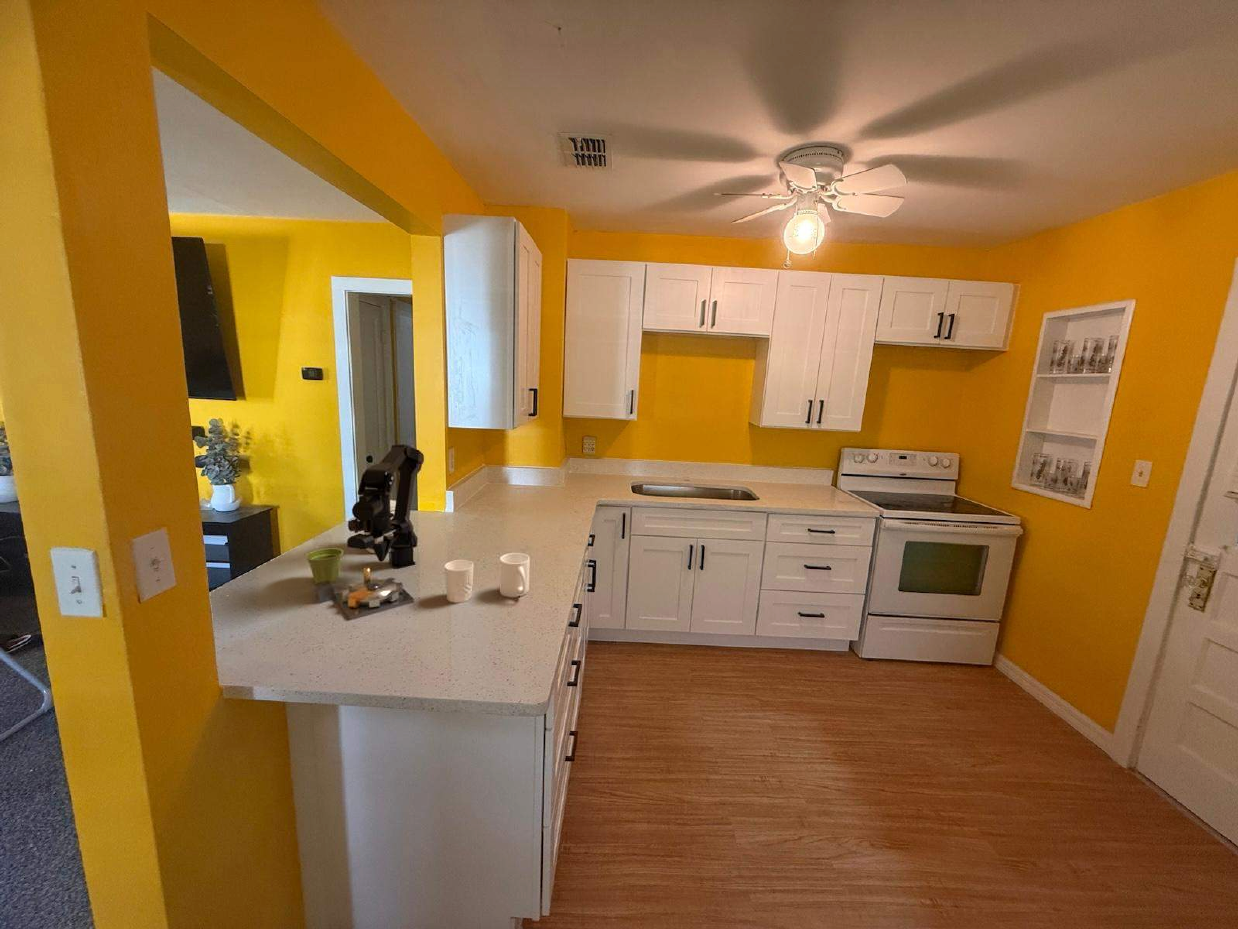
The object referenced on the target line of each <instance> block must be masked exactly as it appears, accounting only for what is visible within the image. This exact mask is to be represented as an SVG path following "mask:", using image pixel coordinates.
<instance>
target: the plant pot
mask: <svg viewBox="0 0 1238 929" xmlns="http://www.w3.org/2000/svg"><path fill="white" fill-rule="evenodd" d="M343 554H344V550H343V549H340V548H336V547H332V548H331V547H329V548H321V549H316V550H314V551H313V550H312V551H311V552H309V553H307V554H306V556H305V559H306V560H307V561H308V563H309V566H310V569H311V573H312V578H313V581H314V584H316V583H320V582H325V581H330V583H331V584H333V583H335V582H337V581H338V580H339V578H340V577H339V576H340V565H341V559H342V555H343Z"/></svg>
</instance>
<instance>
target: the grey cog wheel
mask: <svg viewBox="0 0 1238 929" xmlns="http://www.w3.org/2000/svg"><path fill="white" fill-rule="evenodd" d="M403 589H404V585H403V582H397V578H394V577H388V578H381V579H378V577H371V568H370V567H364V568H363V581H361V582H353V583H351V584H349V585H348V589H347V590H343V591H342V592H343V594H342V597H343V602H345V601H348V606H350V607H355V608H356V607H358V606H360V605H369V608H370V607H376V606H380V605H379V603H383V602H386V601H392V602H393V601H394V600H396V599H398V598H399V593H402V592H403Z"/></svg>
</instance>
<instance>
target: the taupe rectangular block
mask: <svg viewBox="0 0 1238 929" xmlns="http://www.w3.org/2000/svg"><path fill="white" fill-rule="evenodd" d="M334 589H335V588H334V585H333V583H330V581H325V582H320V583H314V597H315V599H316V600H317V602H318V603H319V604H323V603H327V602H330V601H335V598H334V594H335V592H334Z"/></svg>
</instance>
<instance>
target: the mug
mask: <svg viewBox="0 0 1238 929" xmlns="http://www.w3.org/2000/svg"><path fill="white" fill-rule="evenodd" d="M530 560H531V559H530V556H529V554H528V555H527V554H525V553H523V552H522V553H519V552H511V553H506V554H504V555H503V554H502V555H501V556H500V558H499V593H500V594H501V595H502V596H504V597H506V598H519V597H518V596H520V597H523V596H525V595H526V594H528V592H529V588H530Z"/></svg>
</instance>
